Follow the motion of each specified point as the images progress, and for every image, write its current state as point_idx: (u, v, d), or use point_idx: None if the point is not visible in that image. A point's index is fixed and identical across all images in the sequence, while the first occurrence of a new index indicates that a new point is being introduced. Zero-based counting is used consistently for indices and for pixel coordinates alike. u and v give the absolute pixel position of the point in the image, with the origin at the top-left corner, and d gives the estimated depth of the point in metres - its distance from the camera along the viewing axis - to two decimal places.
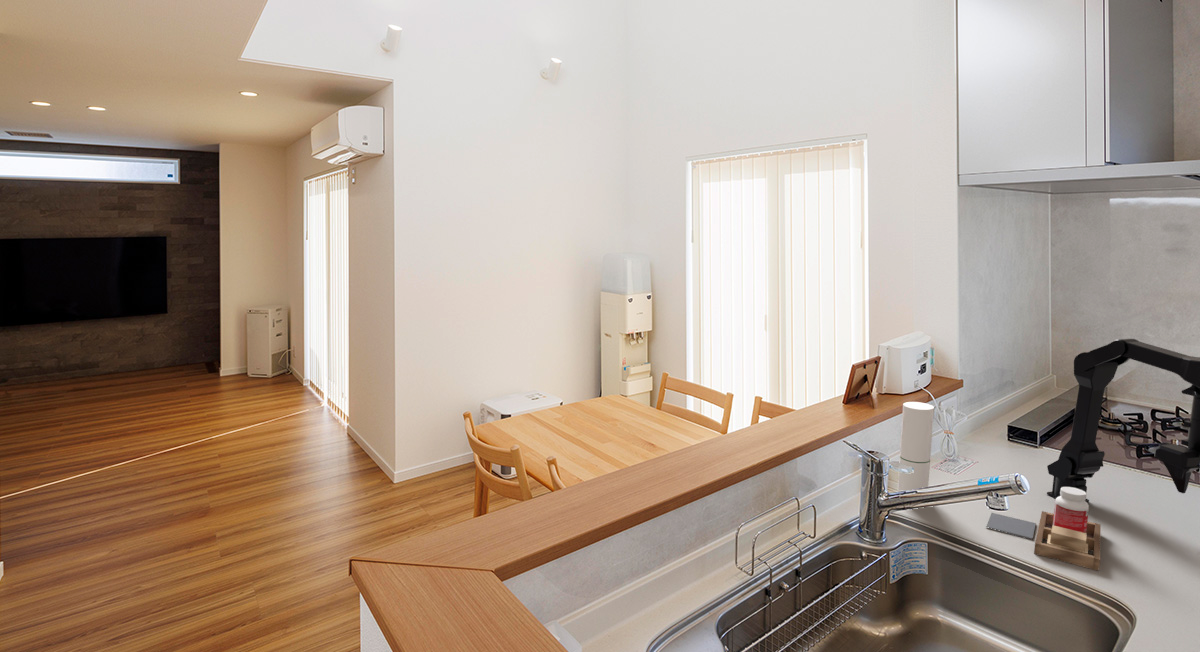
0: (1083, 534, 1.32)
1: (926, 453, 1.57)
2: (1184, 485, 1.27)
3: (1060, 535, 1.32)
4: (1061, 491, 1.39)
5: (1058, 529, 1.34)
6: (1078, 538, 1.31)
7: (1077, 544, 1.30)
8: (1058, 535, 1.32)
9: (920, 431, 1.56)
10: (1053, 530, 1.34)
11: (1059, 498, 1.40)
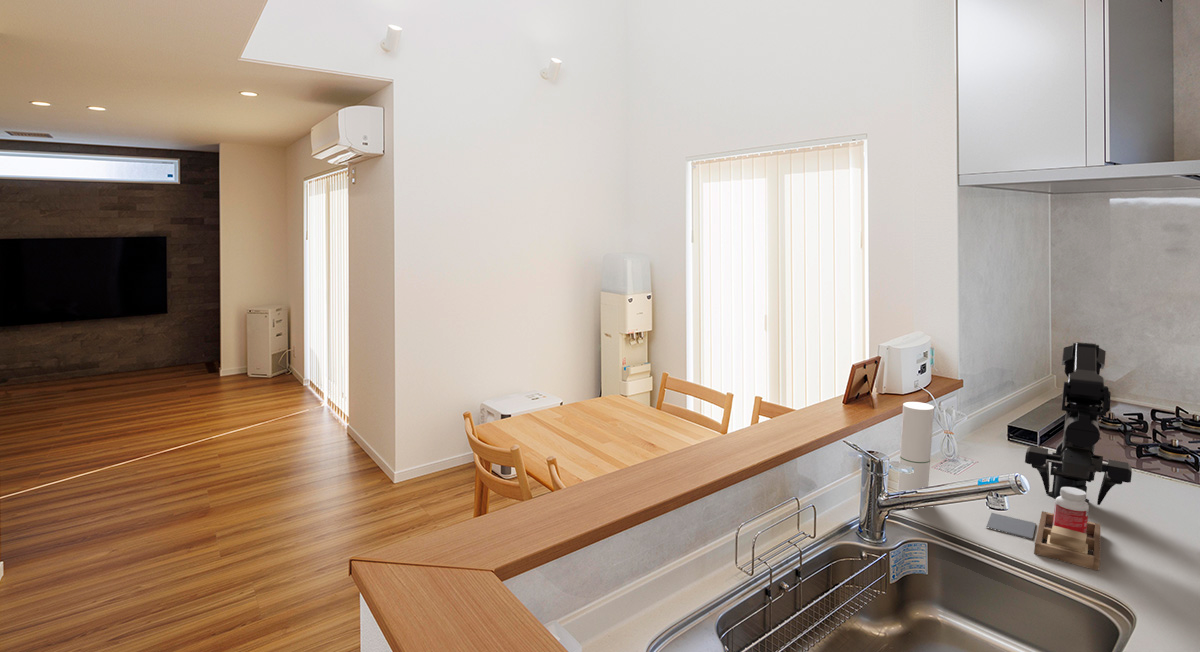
0: (1083, 534, 1.32)
1: (926, 453, 1.57)
2: (1045, 486, 1.41)
3: (1060, 535, 1.32)
4: (1061, 491, 1.39)
5: (1058, 529, 1.34)
6: (1077, 538, 1.30)
7: (1077, 545, 1.30)
8: (1058, 534, 1.32)
9: (920, 431, 1.56)
10: (1052, 530, 1.34)
11: (1059, 498, 1.40)
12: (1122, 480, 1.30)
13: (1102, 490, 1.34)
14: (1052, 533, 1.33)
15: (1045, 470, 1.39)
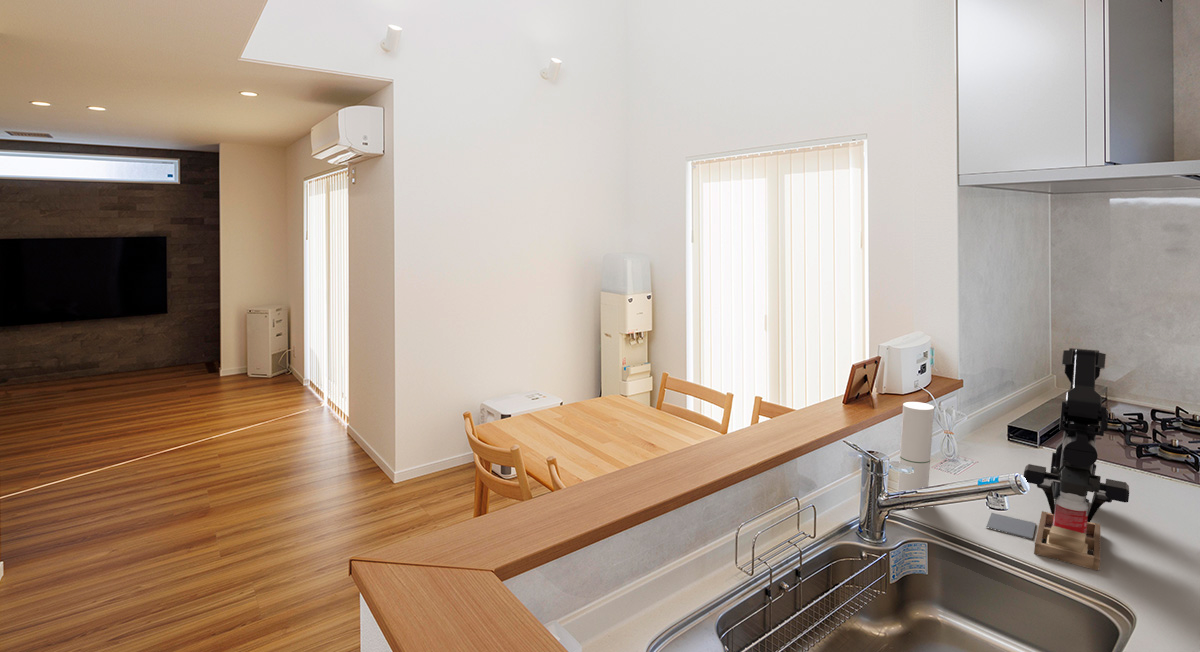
0: (1082, 535, 1.32)
1: (926, 453, 1.57)
2: (1050, 506, 1.41)
3: (1058, 535, 1.32)
4: None
5: (1057, 529, 1.34)
6: (1076, 538, 1.30)
7: (1075, 545, 1.30)
8: (1057, 535, 1.32)
9: (920, 431, 1.56)
10: (1051, 530, 1.34)
11: (1059, 498, 1.40)
12: (1120, 500, 1.31)
13: (1092, 508, 1.36)
14: (1051, 533, 1.33)
15: (1050, 490, 1.39)
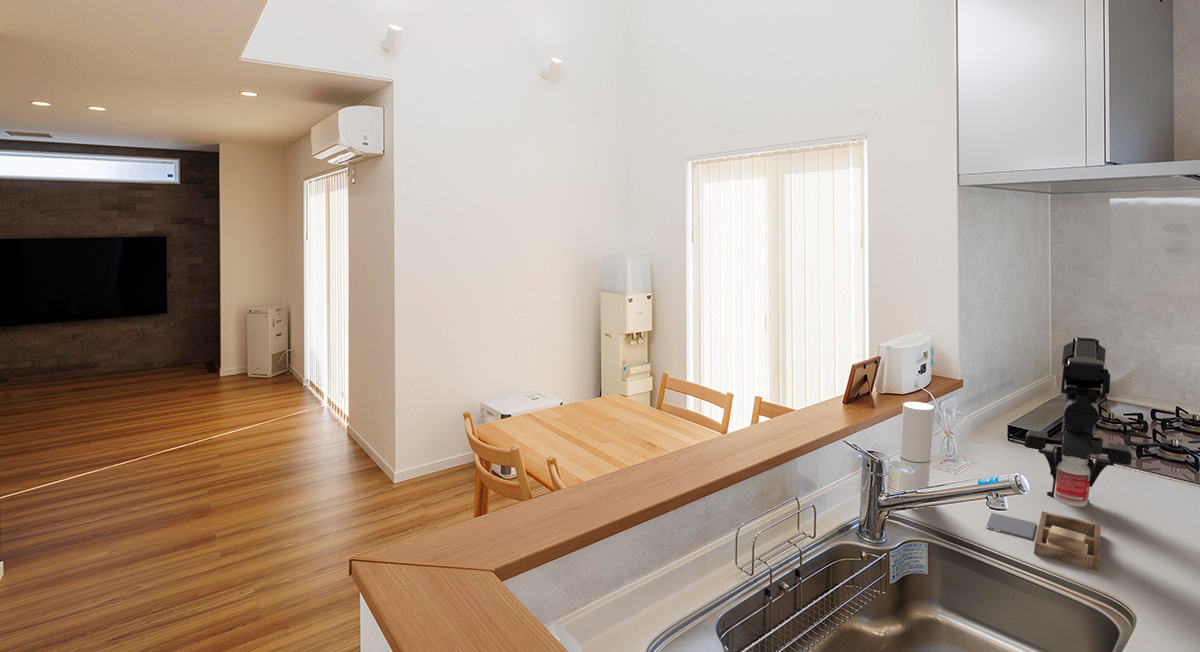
0: (1082, 535, 1.32)
1: (926, 453, 1.57)
2: (1052, 471, 1.40)
3: (1057, 535, 1.32)
4: (1063, 456, 1.38)
5: (1057, 529, 1.34)
6: (1075, 538, 1.30)
7: (1074, 545, 1.30)
8: (1056, 534, 1.33)
9: (920, 431, 1.56)
10: (1051, 530, 1.34)
11: (1061, 463, 1.39)
12: (1122, 463, 1.30)
13: (1094, 472, 1.35)
14: (1050, 533, 1.33)
15: (1052, 455, 1.38)
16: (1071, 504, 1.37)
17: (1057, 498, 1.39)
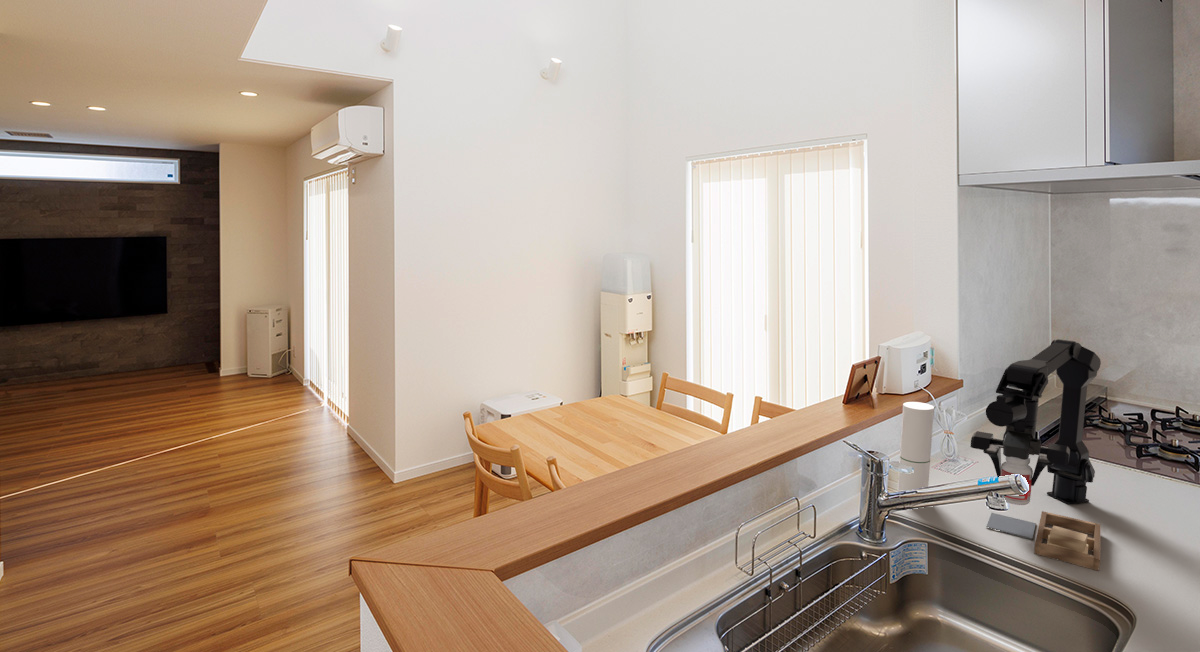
0: (1083, 535, 1.32)
1: (926, 453, 1.57)
2: (996, 471, 1.45)
3: (1059, 535, 1.32)
4: (1006, 456, 1.43)
5: (1058, 529, 1.34)
6: (1077, 538, 1.30)
7: (1076, 545, 1.30)
8: (1057, 535, 1.32)
9: (920, 431, 1.56)
10: (1052, 530, 1.34)
11: (1004, 463, 1.44)
12: (1060, 462, 1.35)
13: (1035, 471, 1.40)
14: (1051, 533, 1.33)
15: (996, 455, 1.43)
16: (1013, 502, 1.42)
17: None
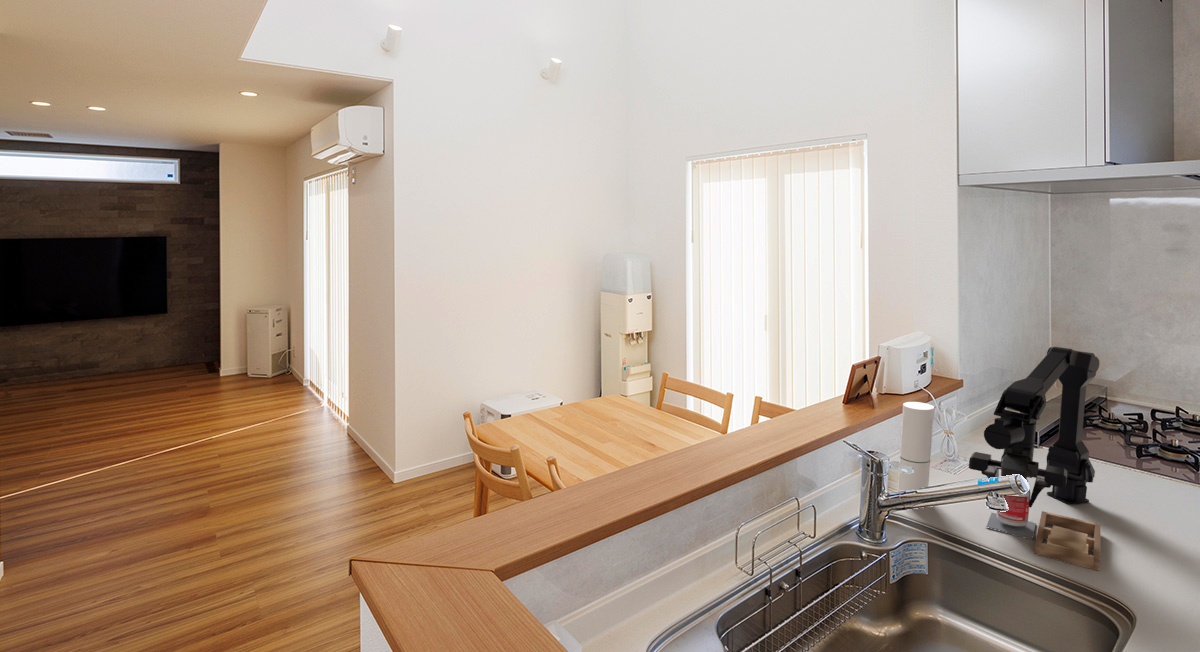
0: (1084, 535, 1.32)
1: (926, 453, 1.57)
2: None
3: (1060, 535, 1.32)
4: None
5: (1059, 529, 1.34)
6: (1077, 538, 1.30)
7: (1077, 545, 1.30)
8: (1058, 534, 1.32)
9: (920, 431, 1.56)
10: (1053, 530, 1.34)
11: None
12: (1057, 485, 1.36)
13: (1033, 493, 1.40)
14: (1052, 533, 1.33)
15: None
16: (1011, 524, 1.42)
17: (999, 518, 1.45)
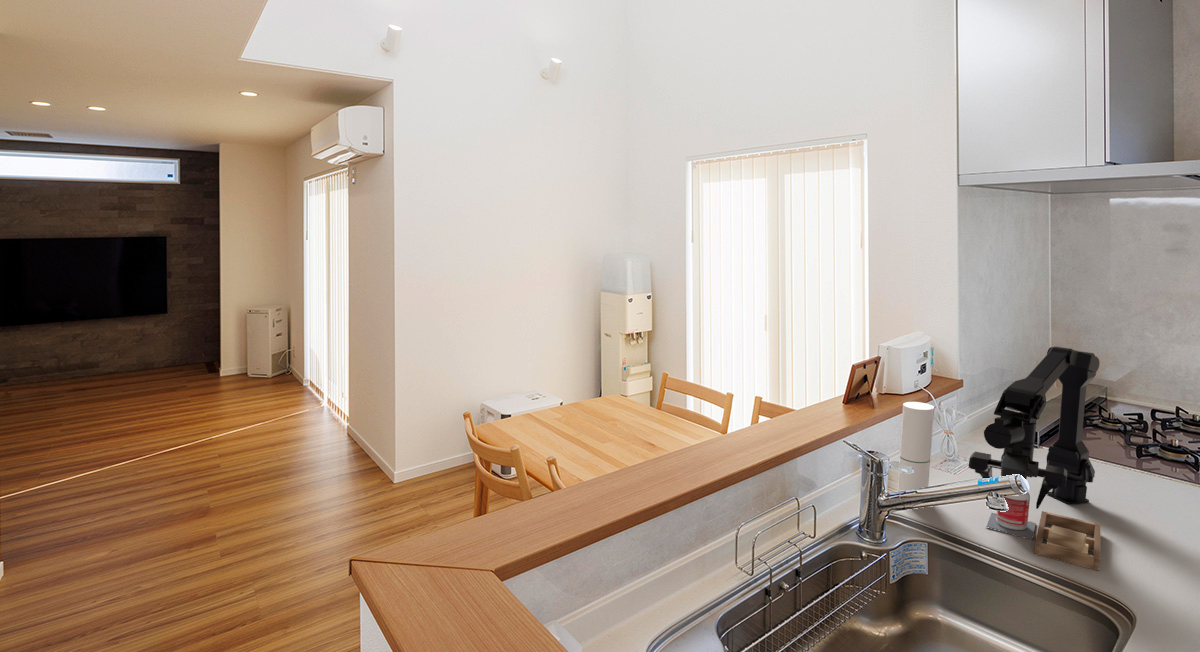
0: (1082, 535, 1.32)
1: (926, 453, 1.57)
2: None
3: (1058, 534, 1.32)
4: None
5: (1057, 529, 1.34)
6: (1075, 538, 1.31)
7: (1074, 544, 1.31)
8: (1056, 534, 1.33)
9: (920, 431, 1.56)
10: (1051, 529, 1.34)
11: None
12: (1057, 485, 1.36)
13: (1040, 494, 1.40)
14: (1050, 532, 1.33)
15: (987, 475, 1.45)
16: (1011, 527, 1.43)
17: (998, 521, 1.45)
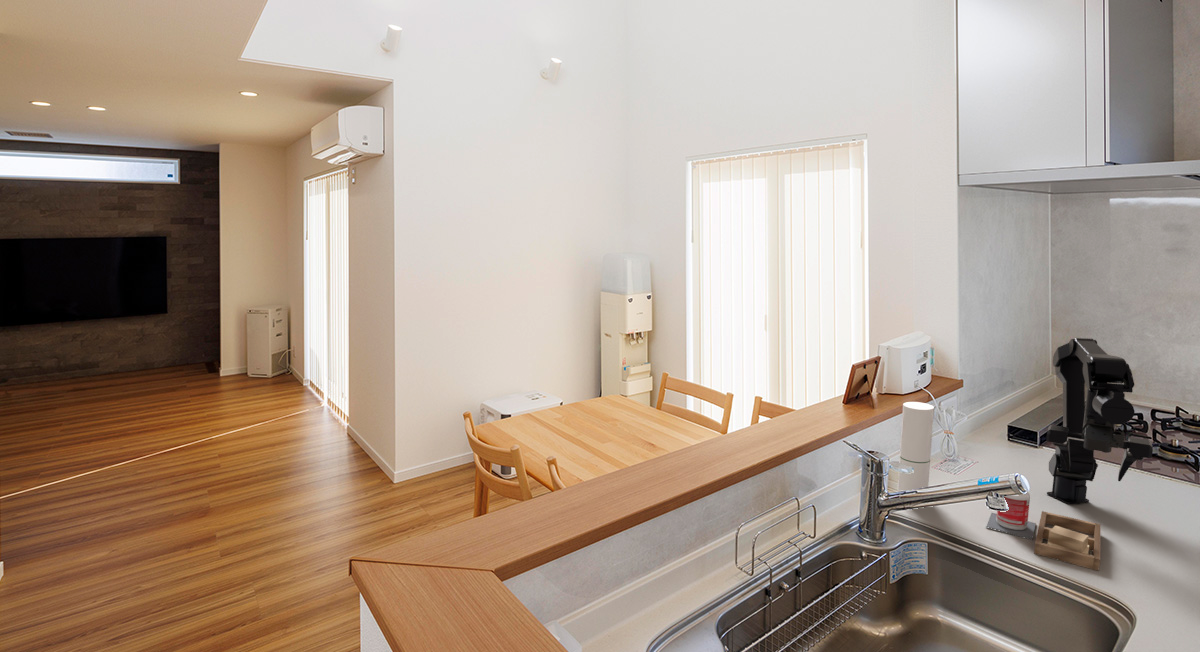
0: (1084, 536, 1.31)
1: (926, 453, 1.57)
2: (1066, 464, 1.44)
3: (1058, 534, 1.33)
4: None
5: (1059, 529, 1.34)
6: (1075, 538, 1.30)
7: (1074, 545, 1.30)
8: (1056, 534, 1.33)
9: (920, 431, 1.56)
10: (1052, 529, 1.34)
11: None
12: (1143, 456, 1.33)
13: (1123, 466, 1.37)
14: (1050, 532, 1.34)
15: (1066, 448, 1.42)
16: (1011, 527, 1.43)
17: (998, 521, 1.45)
